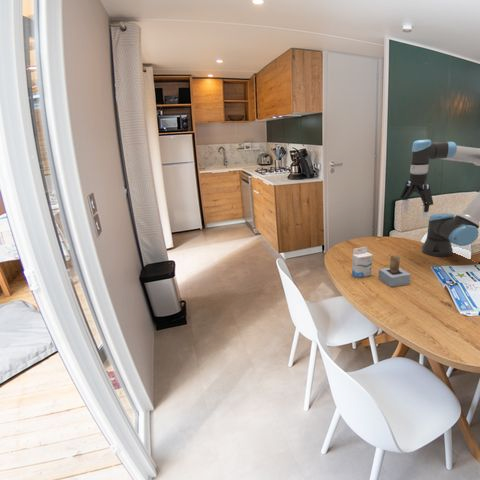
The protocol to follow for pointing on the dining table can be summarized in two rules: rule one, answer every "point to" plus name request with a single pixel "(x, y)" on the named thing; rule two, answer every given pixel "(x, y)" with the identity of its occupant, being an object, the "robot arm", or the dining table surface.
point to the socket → (394, 277)
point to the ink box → (361, 262)
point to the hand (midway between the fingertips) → (414, 214)
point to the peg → (394, 264)
